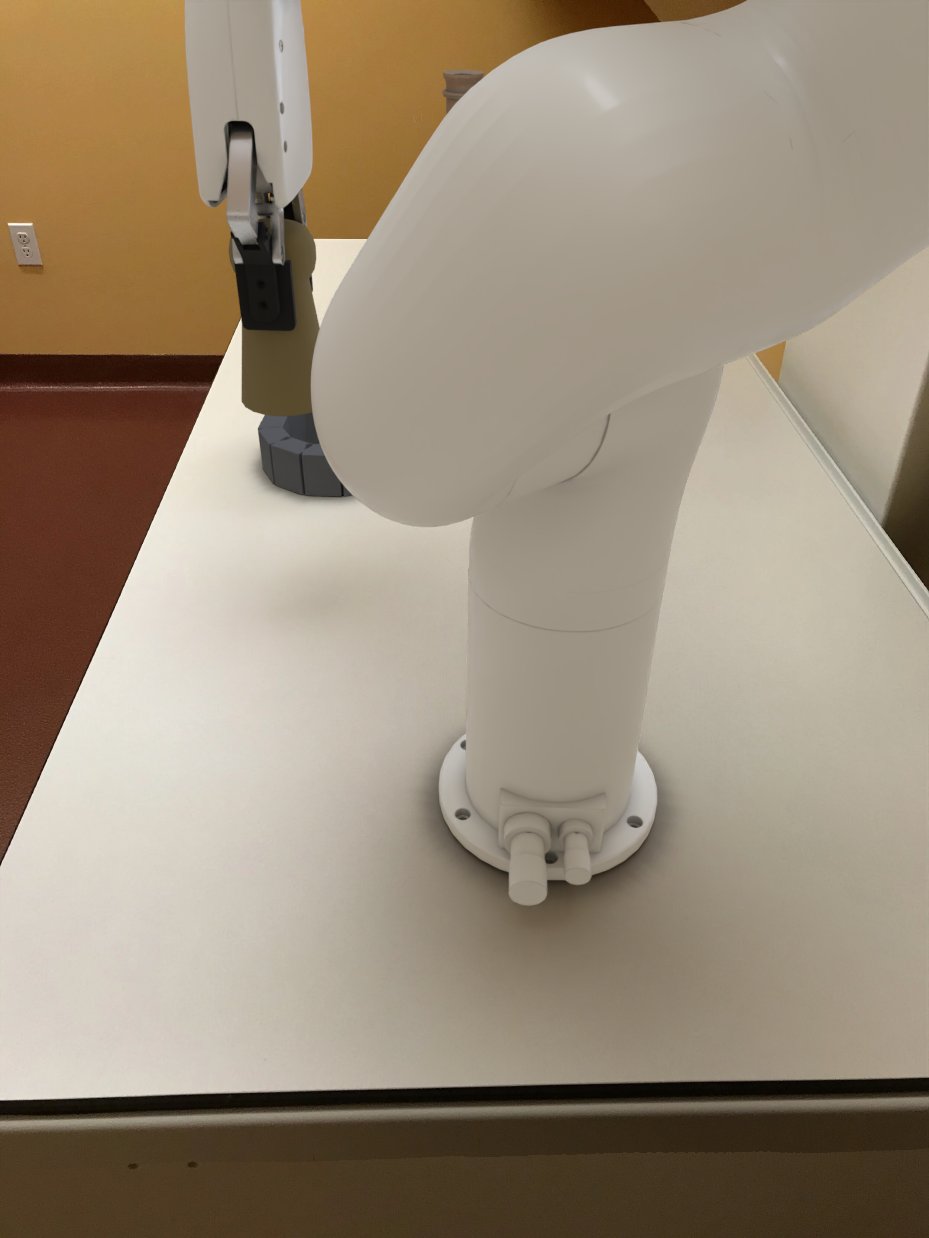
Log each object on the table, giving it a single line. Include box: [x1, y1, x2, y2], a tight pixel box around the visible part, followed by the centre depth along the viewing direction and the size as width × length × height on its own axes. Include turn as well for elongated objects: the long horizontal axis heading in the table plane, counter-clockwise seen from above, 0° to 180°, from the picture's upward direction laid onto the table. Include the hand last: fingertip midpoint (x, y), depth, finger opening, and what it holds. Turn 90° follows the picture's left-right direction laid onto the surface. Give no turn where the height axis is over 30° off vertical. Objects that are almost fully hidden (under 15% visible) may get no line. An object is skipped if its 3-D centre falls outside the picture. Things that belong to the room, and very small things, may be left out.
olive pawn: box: [228, 218, 320, 416], centre depth 60 cm, size 6×6×11 cm
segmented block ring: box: [257, 412, 353, 498], centre depth 88 cm, size 13×13×4 cm
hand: (279, 308), depth 60 cm, fingers closed on olive pawn, 5 cm apart
